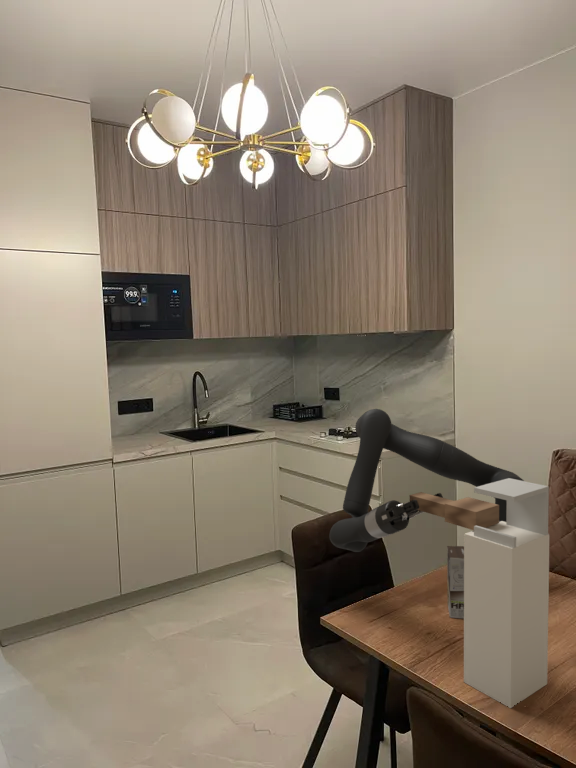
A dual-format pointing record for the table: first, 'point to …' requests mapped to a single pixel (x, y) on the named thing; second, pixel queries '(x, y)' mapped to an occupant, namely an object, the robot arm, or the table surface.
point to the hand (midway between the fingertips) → (429, 500)
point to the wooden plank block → (459, 510)
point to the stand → (508, 595)
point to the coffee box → (455, 581)
